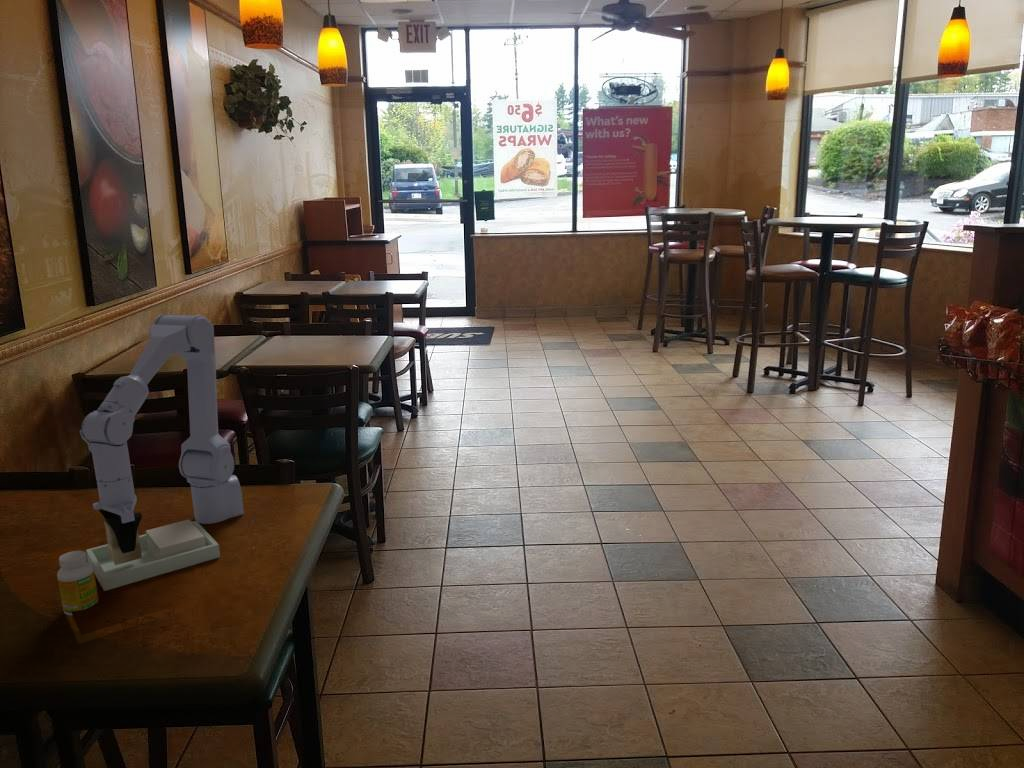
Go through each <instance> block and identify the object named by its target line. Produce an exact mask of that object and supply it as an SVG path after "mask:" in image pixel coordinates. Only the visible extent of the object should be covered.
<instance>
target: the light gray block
mask: <svg viewBox="0 0 1024 768" xmlns="http://www.w3.org/2000/svg"><path fill="white" fill-rule="evenodd" d="M192 522H193V521H191V520H190V519H185V520H182V521H178V522H174V523H173V522H172V523H170V524H166V525H162V526H158V527H154V528H151V529H145V534H146V536H147V542H148V549H149V551H150V552H151V554H152V555H153V556H154V558H155V559H156V560H159V559H163V558H166V557H170V556H173V555H177V554H180V553H184V552H187V551H191V550H195V549H198V548H202V547H205V546H206V543H205V536H204V535H203V534H202V533H201V532H200V531H199V530H198V529H197V528H196V527H195V525H194V524H193V523H192Z"/></svg>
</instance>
